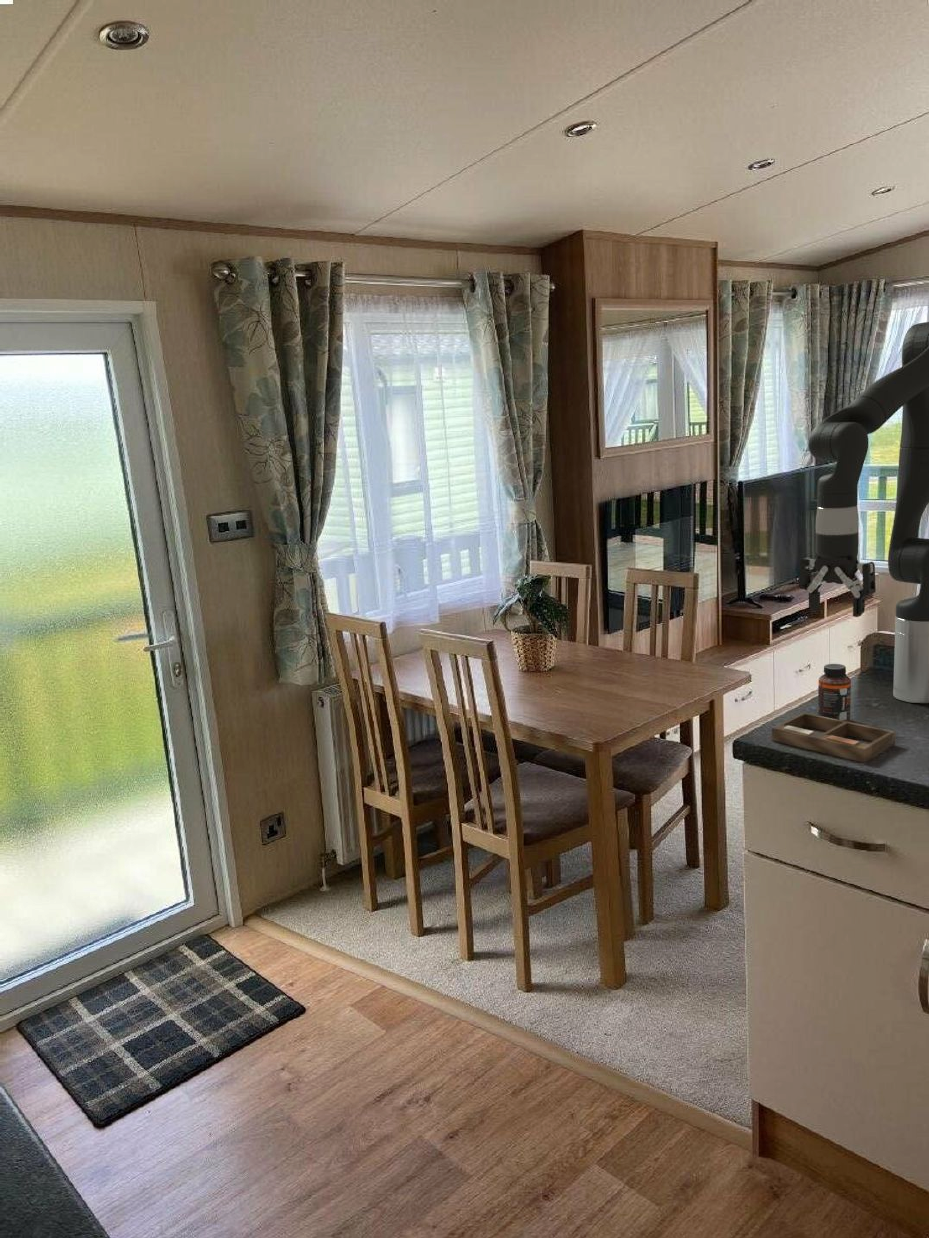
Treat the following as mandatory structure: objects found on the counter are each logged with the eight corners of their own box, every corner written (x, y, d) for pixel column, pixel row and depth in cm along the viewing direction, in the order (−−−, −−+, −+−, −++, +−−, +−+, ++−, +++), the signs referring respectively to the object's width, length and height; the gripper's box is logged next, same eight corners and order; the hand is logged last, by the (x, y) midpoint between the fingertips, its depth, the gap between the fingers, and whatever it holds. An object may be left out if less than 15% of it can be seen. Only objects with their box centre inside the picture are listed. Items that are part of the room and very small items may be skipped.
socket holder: (894, 744, 173) (894, 729, 172) (864, 762, 166) (864, 747, 165) (803, 724, 187) (803, 710, 186) (771, 740, 179) (771, 726, 179)
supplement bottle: (853, 726, 184) (854, 670, 181) (820, 726, 185) (821, 670, 182) (847, 716, 189) (848, 661, 187) (815, 716, 191) (816, 662, 188)
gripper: (883, 529, 176) (881, 614, 179) (812, 525, 186) (811, 605, 190) (863, 535, 171) (862, 622, 175) (791, 531, 182) (791, 613, 185)
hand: (835, 613), depth 182 cm, fingers open, 8 cm apart
